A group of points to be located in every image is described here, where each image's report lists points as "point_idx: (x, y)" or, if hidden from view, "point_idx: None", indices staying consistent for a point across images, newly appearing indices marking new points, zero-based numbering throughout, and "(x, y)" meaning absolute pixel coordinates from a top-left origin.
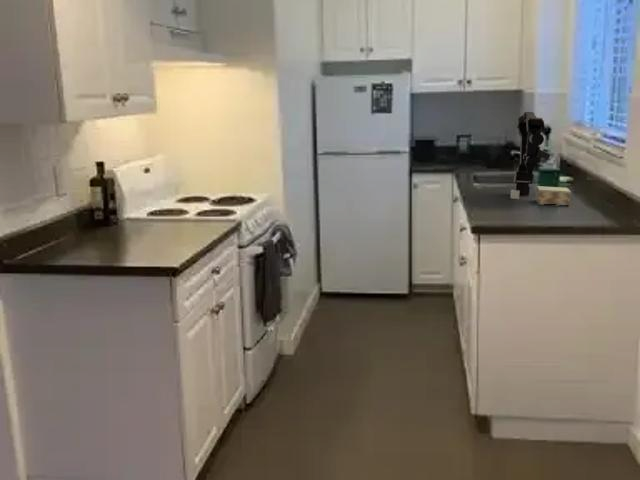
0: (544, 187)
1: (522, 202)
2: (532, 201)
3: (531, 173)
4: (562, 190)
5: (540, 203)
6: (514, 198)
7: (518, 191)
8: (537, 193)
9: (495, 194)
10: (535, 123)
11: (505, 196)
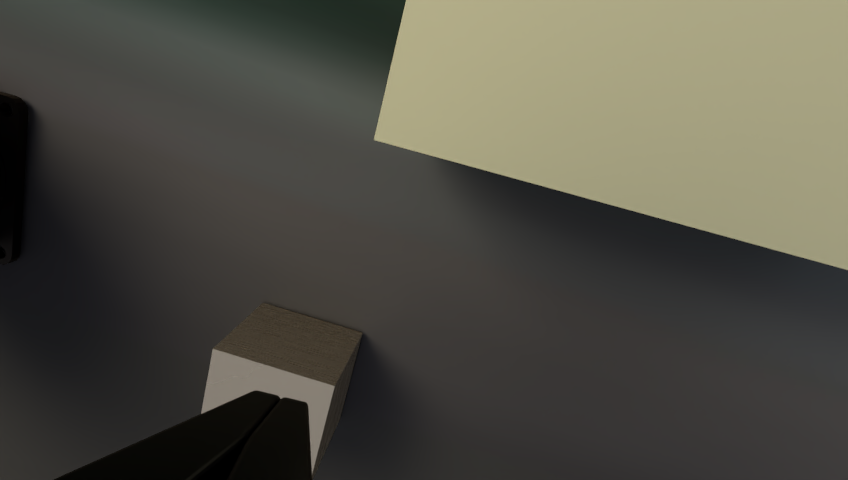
0: (606, 43)
1: (629, 376)
2: (516, 207)
3: (305, 457)
4: None
5: None
6: (348, 383)
7: (332, 397)
8: None
9: (16, 466)
10: None
11: (143, 408)
